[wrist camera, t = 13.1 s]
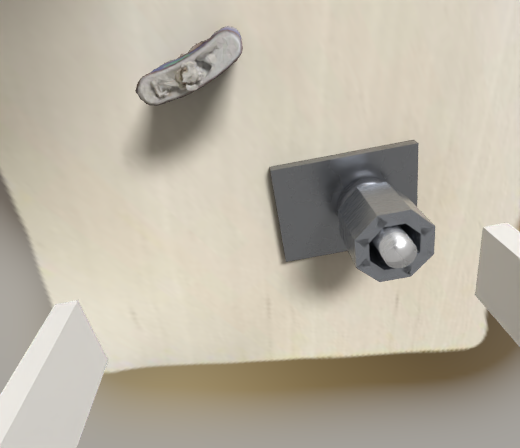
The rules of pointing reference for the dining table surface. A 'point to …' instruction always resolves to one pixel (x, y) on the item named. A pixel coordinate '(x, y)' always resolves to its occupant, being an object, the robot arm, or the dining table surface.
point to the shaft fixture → (342, 199)
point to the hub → (374, 220)
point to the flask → (191, 68)
